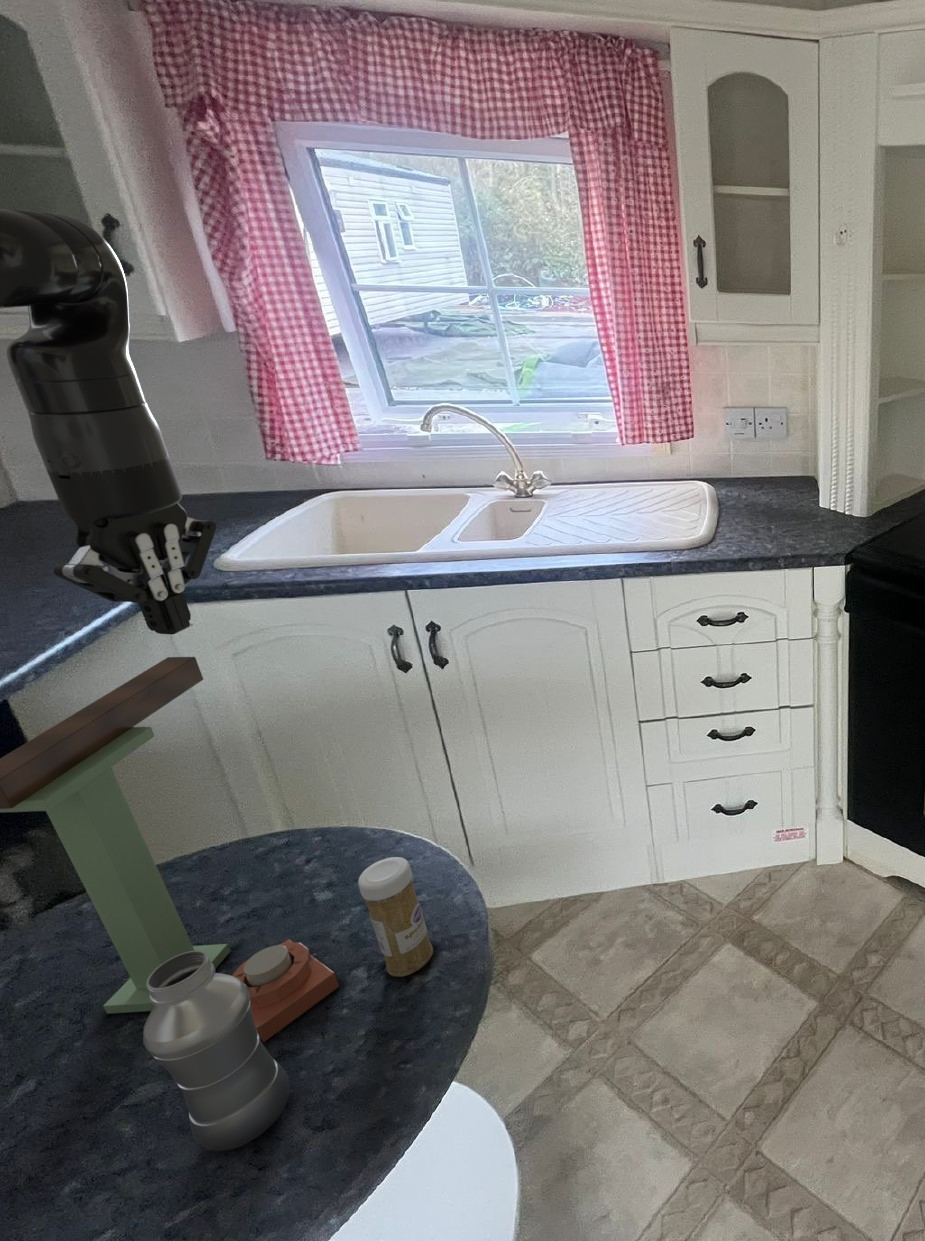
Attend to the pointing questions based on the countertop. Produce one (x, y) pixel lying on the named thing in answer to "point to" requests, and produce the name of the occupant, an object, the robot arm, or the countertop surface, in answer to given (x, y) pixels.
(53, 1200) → the countertop surface
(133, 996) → the shelf stand
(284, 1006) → the orange button pad
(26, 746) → the brown wooden bar
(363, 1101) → the countertop surface
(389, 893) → the sprinkles bottle
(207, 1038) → the grey bottle
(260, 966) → the push button
